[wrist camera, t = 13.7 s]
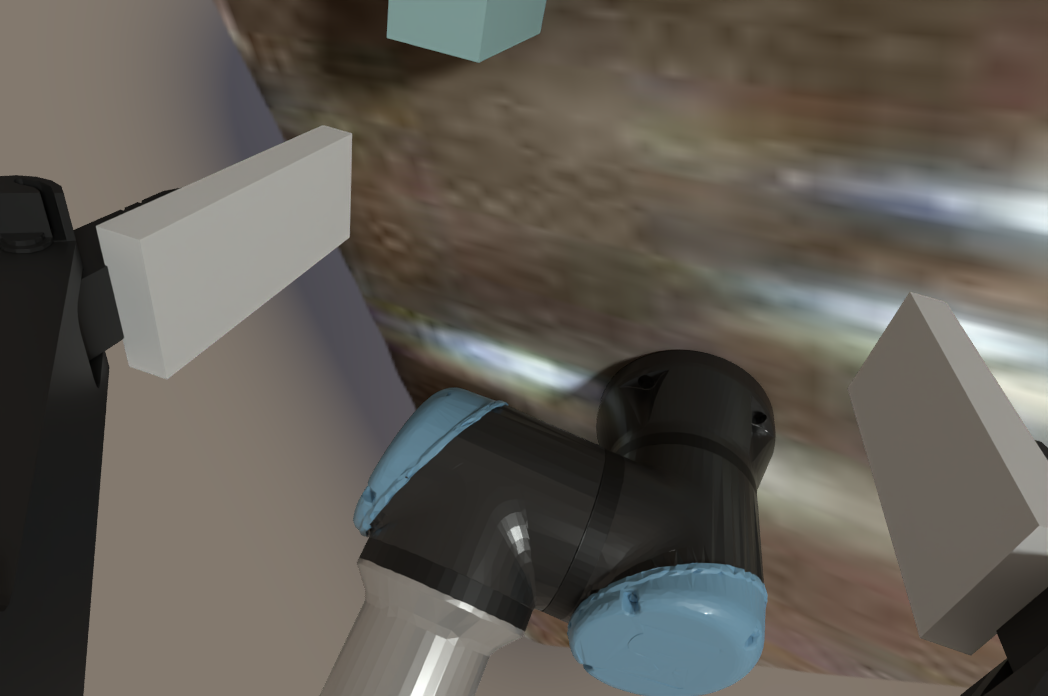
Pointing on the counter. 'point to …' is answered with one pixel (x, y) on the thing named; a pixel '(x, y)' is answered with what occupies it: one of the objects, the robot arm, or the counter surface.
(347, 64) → the counter surface
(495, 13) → the rail
